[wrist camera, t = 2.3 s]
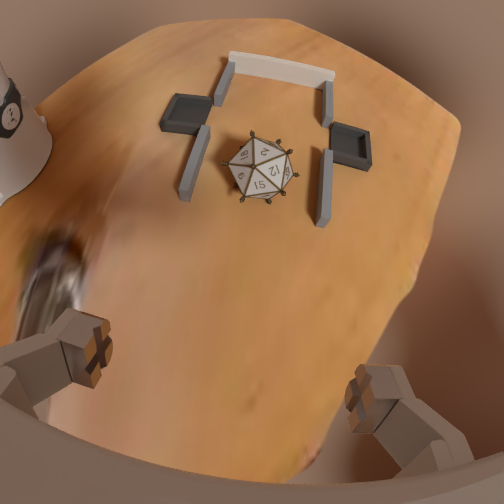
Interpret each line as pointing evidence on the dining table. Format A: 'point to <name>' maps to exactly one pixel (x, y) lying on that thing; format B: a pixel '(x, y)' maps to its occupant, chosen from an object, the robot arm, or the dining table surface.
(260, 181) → the game die
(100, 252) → the dining table surface
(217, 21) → the dining table surface
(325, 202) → the trap lane
